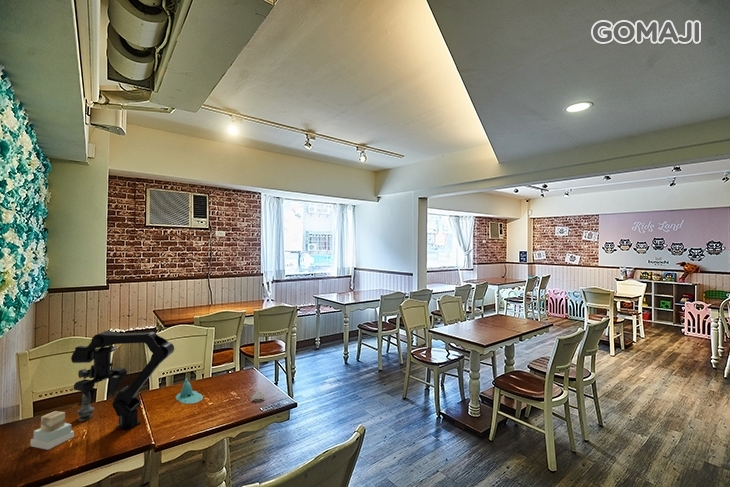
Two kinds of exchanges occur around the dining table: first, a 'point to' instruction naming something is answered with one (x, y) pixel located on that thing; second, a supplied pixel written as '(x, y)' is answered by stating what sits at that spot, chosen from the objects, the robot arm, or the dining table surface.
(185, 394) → the teal witch hat
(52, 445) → the tower base block
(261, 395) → the car cutout
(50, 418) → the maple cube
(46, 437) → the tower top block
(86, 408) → the grey stone pagoda
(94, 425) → the dining table surface
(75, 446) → the dining table surface
